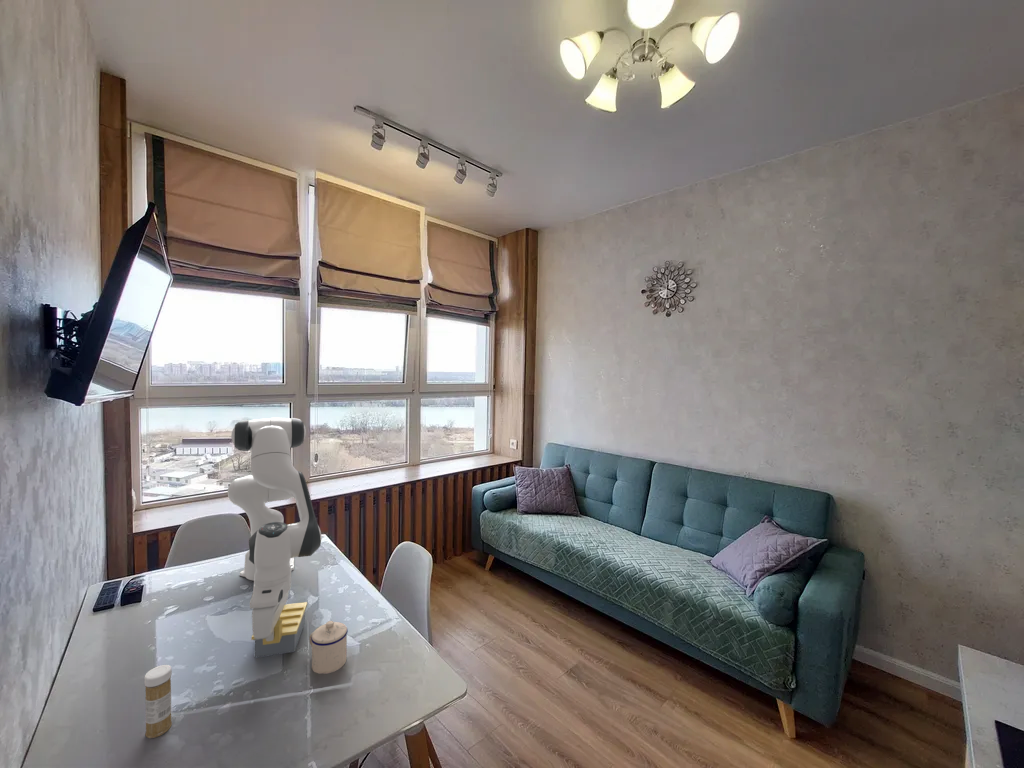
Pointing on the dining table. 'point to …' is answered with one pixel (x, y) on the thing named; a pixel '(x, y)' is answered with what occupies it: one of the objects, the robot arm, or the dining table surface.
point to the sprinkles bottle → (158, 701)
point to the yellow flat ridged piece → (287, 621)
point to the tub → (279, 644)
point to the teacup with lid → (329, 647)
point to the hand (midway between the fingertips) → (272, 634)
